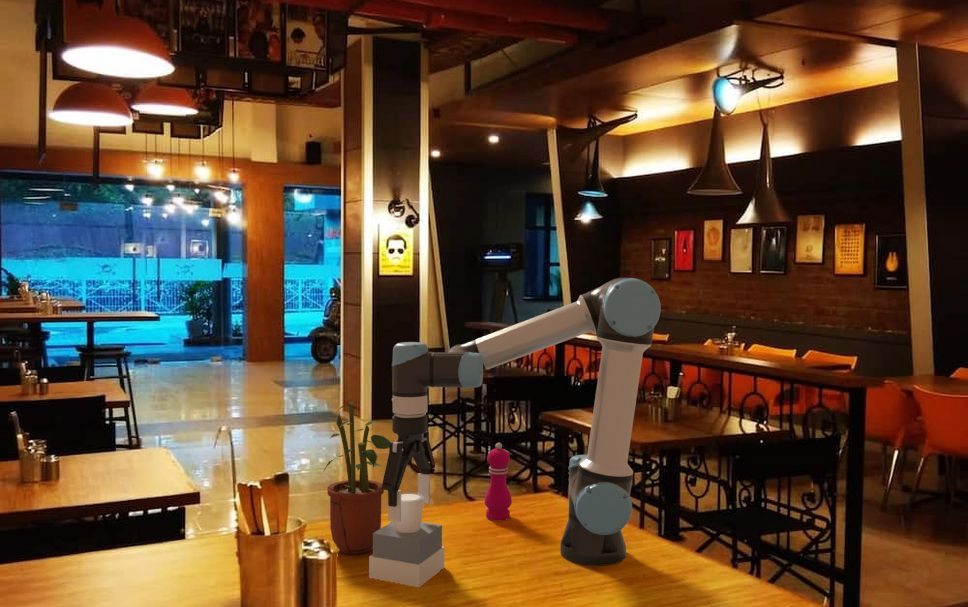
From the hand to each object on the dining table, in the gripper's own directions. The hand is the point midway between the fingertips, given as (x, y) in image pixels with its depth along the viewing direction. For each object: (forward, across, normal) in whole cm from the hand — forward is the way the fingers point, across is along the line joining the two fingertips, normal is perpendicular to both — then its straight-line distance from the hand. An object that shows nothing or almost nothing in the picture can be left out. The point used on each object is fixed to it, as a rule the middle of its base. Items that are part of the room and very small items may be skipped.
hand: (409, 511), depth 173 cm
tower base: (+14, 0, 0) cm, 14 cm away
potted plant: (+14, -9, -19) cm, 25 cm away
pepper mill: (+14, -43, +4) cm, 45 cm away
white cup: (+4, 0, 0) cm, 4 cm away
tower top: (+9, 0, 0) cm, 9 cm away
